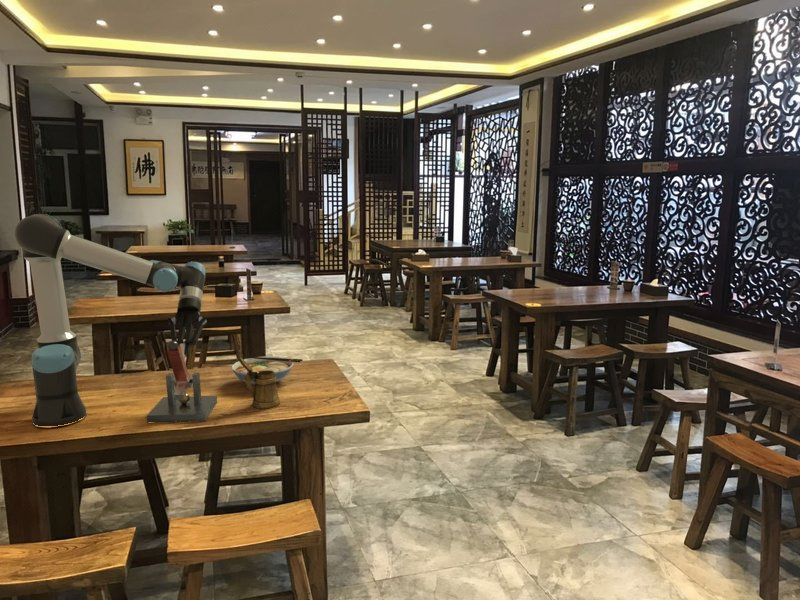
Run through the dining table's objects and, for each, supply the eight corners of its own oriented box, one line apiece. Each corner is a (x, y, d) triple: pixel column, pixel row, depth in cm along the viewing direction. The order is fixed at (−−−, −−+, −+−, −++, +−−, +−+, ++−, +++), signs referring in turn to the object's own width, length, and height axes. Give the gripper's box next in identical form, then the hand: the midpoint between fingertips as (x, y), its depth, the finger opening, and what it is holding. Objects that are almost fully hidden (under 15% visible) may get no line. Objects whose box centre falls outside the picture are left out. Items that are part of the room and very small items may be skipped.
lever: (170, 400, 198) (156, 357, 185) (175, 381, 204) (163, 338, 192) (189, 400, 198) (177, 357, 186) (194, 380, 205) (182, 338, 192)
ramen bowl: (217, 390, 224) (216, 368, 223) (250, 371, 246) (249, 352, 244) (279, 396, 217) (278, 374, 215) (307, 377, 238) (306, 356, 237)
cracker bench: (147, 423, 193) (143, 385, 191) (163, 404, 210) (160, 369, 208) (205, 421, 195) (202, 383, 192) (217, 402, 211) (215, 367, 209)
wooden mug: (239, 402, 211) (236, 351, 208) (279, 398, 215) (276, 348, 211) (239, 411, 203) (236, 358, 200) (281, 407, 206) (278, 355, 203)
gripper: (211, 307, 216) (203, 367, 203) (173, 308, 215) (163, 369, 202) (206, 295, 210) (198, 357, 197) (167, 296, 209) (157, 358, 196)
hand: (180, 363), depth 199 cm, fingers closed
